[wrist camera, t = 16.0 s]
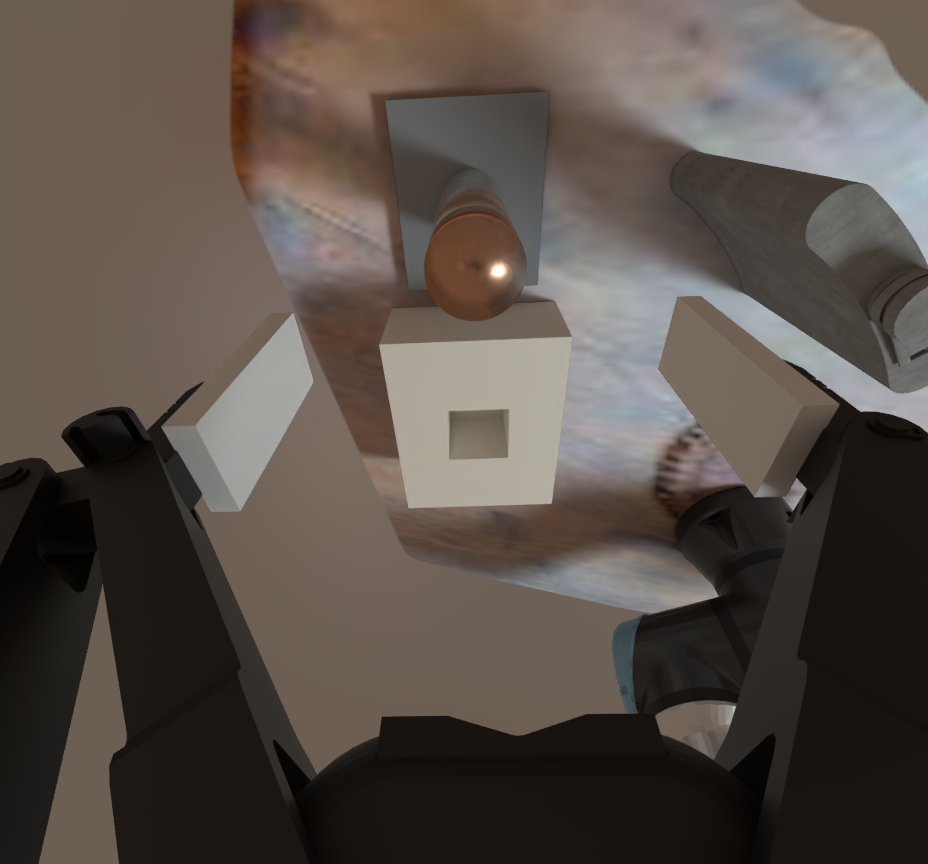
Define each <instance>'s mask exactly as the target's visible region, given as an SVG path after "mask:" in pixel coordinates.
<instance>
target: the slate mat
mask: <svg viewBox="0 0 928 864" xmlns="http://www.w3.org/2000/svg"><path fill="white" fill-rule="evenodd" d="M549 95H550V91H549V92H531V93H512V94H494V95H476V96H457V97H439V98H421V99H403V100H385V103H386V111H387V119H388V127H389V135H390V143H391V151H392V159H393V168H394V176H395V184H396V192H397V200H398V208H399V216H400V224H401V232H402V241H403V249H404V257H405V265H406V273H407V281H408V289H409V291H414V290H428V289H427V286H426V282H425V277H424V260H425V256H426V252H427V248H428V244H429V240H430V238H431V234H432V230H433V226H434V222H435V218H436V214H437V210H438V206H439V202H440V198H441V194H442V191H443V188H444V186H445V184H446V183H447V181H448V180H449V179H450V178H451V177H452V176H453V175H454V174H455V173H457V172H459V171H461V170H464V169H478V170H481V171H483V172H485V173H486V174H488V175H489V176H490V177H491V178H492V179H493V180H494V182H495V183H496V185H497V187H498V189H499V192H500V194H501V197H502V199H503V201H504V204H505V206H506V209H507V211H508V213H509V216H510V218H511V220H512V223H513V225H514V228H515V230H516V232H517V234H518V236H519V239H520V241H521V243H522V246H523V248H524V251H525V254H526V260H527V275H526V280H525V284H524V286H529V285H538V269H539V253H540V237H541V221H542V205H543V190H544V174H545V158H546V142H547V126H548V110H549Z"/></svg>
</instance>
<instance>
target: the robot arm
mask: <svg viewBox="0 0 928 864" xmlns="http://www.w3.org/2000/svg"><path fill="white" fill-rule="evenodd" d="M658 370H659V371H660V372H661V374H662V375H663V376H664V378H665V379H666V380H667V382H668V383H669V384H670V386H671V387H672V388H673V390H674V391H675V392H676V394H677V395H678V396H679V398H680V399H681V400H682V402H683V403H684V404H685V406H686V407H687V408H688V410H689V411H690V412H691V414H692V415H693V416H694V418H695V419H696V420H697V422H698V423H699V424H700V426H701V427H702V428H703V429H704V431H705V432H706V433H707V435H708V436H709V437H710V439H711V440H712V441H713V443H714V444H715V445H716V447H717V448H718V449H719V451H720V452H721V453H722V455H723V456H724V457H725V459H726V460H727V461H728V463H729V464H730V465H731V467H732V468H733V469H734V471H735V472H736V473H737V475H738V476H739V477H740V479H741V480H742V481H743V483H744V484H745V485H746V487H743V488H735V489H730V490H726V491H723V492H720V493H717V494H714V495H712V496H710V497H707V498H705V499H704V500H702V501H700V502H698V503H697V504H695V505H694V506H693V507H691V508H690V509H689V510H688V511H687V512H686V513H685V514H684V515H683V516H682V517H681V518H680V520H679V522H678V523H677V525H676V528H675V540H676V542H677V544H678V546H679V548H680V550H681V552H682V554H683V555H684V557H685V558H686V559H687V560H689V561H690V562H691V563H692V564H693V565H694V566H695V567H696V568H697V569H698V571H699V572H700V573H701V574H702V575H703V576H704V577H705V578H706V579H707V580H708V581H709V582H710V583H711V584H712V585H713V586H714V588H715V590H716V592H717V594H718V596H719V597H717V598H713V599H709V600H705V601H701V602H697V603H693V604H689V605H685V606H681V607H677V608H674V609H670V610H666V611H662V612H658V613H654V614H650V615H648V614H642V615H641V616H639V617H638V618H635V619H632V620H628V621H625V622H622V623H621V624H619V625H618V626H617V628H616V629H615V631H614V633H613V638H612V651H613V662H614V668H615V674H616V679H617V683H618V685H619V687H620V692H621V698H622V701H623V704H624V707H625V710H626V712H627V714H586V715H583V716H580V717H577V718H574V719H571V720H568V721H565V722H562V723H559V724H556V725H553V726H550V727H547V728H544V729H541V730H538V731H535V732H532V733H529V734H526V735H522V736H515V735H510V734H507V733H503V732H500V731H497V730H493V729H490V728H487V727H483V726H480V725H476V724H473V723H470V722H467V721H463V720H460V719H456V718H453V717H450V716H405V717H404V716H401V717H382V720H381V727H380V734H379V737H376V738H373V739H370V740H368V741H366V742H364V743H362V744H360V745H358V746H356V747H353V748H352V749H350V750H349V751H347V752H346V753H344V754H342V755H341V756H339V757H338V758H336V759H335V760H334V761H333V762H332V763H330V764H329V765H328V766H327V767H325V768H324V769H323V770H322V771H321V772H320V773H319V774H318V775H317V774H316V772H315V770H314V768H313V766H312V764H311V762H310V760H309V758H308V757H307V755H306V753H305V751H304V749H303V748H302V746H301V744H300V742H299V740H298V739H297V737H296V734H295V732H294V730H293V728H292V725H291V723H290V721H289V719H288V716H287V714H286V712H285V710H284V707H283V705H282V703H281V700H280V698H279V696H278V694H277V691H276V689H275V687H274V684H273V682H272V680H271V678H270V675H269V673H268V671H267V669H266V666H265V664H264V662H263V660H262V657H261V655H260V653H259V651H258V648H257V646H256V644H255V641H254V639H253V637H252V635H251V632H250V630H249V628H248V626H247V623H246V621H245V619H244V616H243V614H242V612H241V610H240V607H239V605H238V603H237V601H236V598H235V596H234V594H233V592H232V589H231V587H230V585H229V582H228V580H227V578H226V576H225V573H224V571H223V569H222V567H221V564H220V562H219V560H218V558H217V556H216V553H215V551H214V548H213V546H212V544H211V542H210V539H209V537H208V535H207V533H206V530H205V528H204V526H203V524H202V521H201V519H200V517H199V515H198V513H197V512H196V510H195V509H194V506H195V505H196V503H197V502H198V501H199V499H200V498H201V496H202V497H203V499H204V500H205V502H206V503H207V505H208V507H209V509H210V510H211V512H226V511H241V509H242V507H243V505H244V504H245V502H246V500H247V498H248V497H249V495H250V493H251V491H252V490H253V488H254V486H255V484H256V483H257V481H258V479H259V477H260V475H261V474H262V472H263V470H264V468H265V467H266V465H267V463H268V461H269V459H270V458H271V456H272V454H273V453H274V451H275V449H276V447H277V446H278V444H279V442H280V440H281V438H282V437H283V435H284V433H285V431H286V430H287V428H288V426H289V424H290V423H291V421H292V419H293V417H294V416H295V414H296V412H297V410H298V409H299V407H300V405H301V403H302V401H303V400H304V398H305V396H306V394H307V393H308V391H309V389H310V387H311V386H312V384H313V382H314V381H313V377H312V374H311V371H310V368H309V364H308V360H307V357H306V354H305V350H304V347H303V344H302V340H301V337H300V334H299V330H298V327H297V323H296V320H295V316H294V313H272V314H270V315H269V317H267V319H265V321H264V322H263V323H262V324H261V325H260V326H259V327H258V328H257V329H256V330H255V331H254V332H253V333H252V334H251V335H250V336H249V337H248V338H247V339H246V340H245V341H244V342H243V343H242V344H241V345H240V346H239V347H238V348H237V349H236V350H235V351H234V353H232V354H231V355H230V356H229V358H228V359H227V360H226V361H225V362H224V363H223V364H222V365H221V366H220V367H219V368H218V369H217V370H216V371H215V372H214V373H213V374H212V375H211V376H210V377H209V378H208V379H207V380H206V381H205V382H202V383H200V384H198V385H196V386H195V387H193V388H191V389H190V390H188V391H186V392H185V393H184V394H183V395H182V396H181V397H180V398H179V399H178V400H177V401H176V404H173V405H172V406H171V407H170V408H169V409H168V410H167V411H168V412H167V413H164V414H163V415H162V416H161V417H160V418H159V419H158V420H157V421H156V422H155V423H154V424H153V425H152V426H151V427H150V428H149V429H148V430H147V431H146V430H145V428H144V427H143V425H142V423H141V422H140V420H139V419H138V417H137V416H136V414H135V412H134V411H133V410H132V409H131V408H127V407H112V408H107V409H103V410H98V411H95V412H93V413H90V414H88V415H86V416H83V417H81V418H79V419H77V420H76V421H74V422H72V423H71V424H70V425H69V426H68V427H66V428H65V429H64V430H63V433H62V438H63V439H64V441H65V442H66V443H67V445H68V446H69V447H70V448H71V450H72V451H73V452H74V454H75V455H76V456H77V457H78V459H79V460H80V461H81V463H82V464H83V465H84V467H82V468H77V469H73V470H68V471H64V472H59V473H56V472H55V471H54V470H53V469H52V468H51V466H50V465H49V464H48V463H47V462H46V461H45V460H43V459H41V458H28V459H23V460H18V461H15V462H12V463H6V464H3V465H1V466H0V864H38V863H39V859H40V855H41V850H42V846H43V842H44V837H45V833H46V828H47V824H48V820H49V815H50V811H51V807H52V802H53V798H54V794H55V789H56V785H57V780H58V776H59V771H60V767H61V763H62V759H63V754H64V750H65V745H66V741H67V737H68V732H69V728H70V723H71V719H72V715H73V711H74V706H75V702H76V698H77V693H78V689H79V684H80V680H81V675H82V671H83V667H84V663H85V658H86V653H87V649H88V645H89V641H90V636H91V632H92V628H93V623H94V619H95V615H96V610H97V606H98V601H99V597H100V593H101V588H102V584H103V587H104V593H105V599H106V605H107V611H108V618H109V624H110V631H111V637H112V643H113V649H114V656H115V662H116V668H117V675H118V681H119V687H120V694H121V700H122V706H123V712H124V719H125V725H126V731H127V742H126V745H125V747H123V748H122V749H120V750H119V751H117V752H116V753H115V754H113V757H112V760H111V763H110V766H109V773H110V791H111V799H112V808H113V816H114V825H115V832H116V841H117V850H118V857H119V864H928V433H927V432H926V431H924V430H923V429H922V428H921V427H920V426H918V425H916V424H914V423H912V422H910V421H908V420H906V419H903V418H900V417H897V416H894V415H891V414H885V413H880V412H865V411H864V412H860V411H859V410H857V409H856V408H855V407H853V406H852V405H851V404H849V403H848V402H847V401H845V400H844V399H843V398H841V397H840V396H839V395H837V394H836V393H835V392H834V391H832V390H831V389H827V386H826V385H824V384H823V383H822V382H820V381H819V380H816V378H815V377H814V376H812V375H811V374H810V373H808V372H807V371H806V370H804V369H803V368H801V367H799V366H797V365H794V364H792V363H790V362H788V361H785V360H782V359H781V358H780V357H778V356H777V355H776V354H774V353H773V352H772V351H771V350H769V349H768V348H767V347H765V346H764V345H763V344H762V343H760V342H759V341H758V340H756V339H755V338H754V337H753V336H751V335H750V334H749V333H747V332H746V331H745V330H744V329H742V328H741V327H740V326H739V325H737V324H736V323H735V322H733V321H732V320H731V319H730V318H728V317H727V316H726V315H724V314H723V313H722V312H721V311H719V310H718V309H717V308H715V307H714V306H713V305H712V304H710V303H709V302H708V301H706V300H705V299H704V298H703V297H701V296H687V297H677V301H676V304H675V308H674V312H673V316H672V319H671V323H670V327H669V331H668V335H667V338H666V342H665V346H664V350H663V353H662V357H661V361H660V365H659V369H658ZM796 478H797V479H798V480H799V481H800V482H801V483H802V484H803V485H804V486H805V487H806V489H807V490H806V491H805V493H804V495H803V496H802V498H801V499H800V501H799V503H798V504H797V506H796V507H795V509H794V511H793V510H792V509H791V508H790V506H789V505H788V504H787V503H786V501H785V500H784V499H783V498H782V497H784V496H786V495H787V493H788V492H789V490H790V488H791V486H792V485H793V483H794V481H795V480H796Z"/></svg>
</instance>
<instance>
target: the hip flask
mask: <svg viewBox="0 0 928 864" xmlns="http://www.w3.org/2000/svg"><path fill="white" fill-rule="evenodd" d="M670 186H671V189H672V191H673V192H674V193H675V194H676V195H677V196H678V197H680V198H681V199H682V200H683V201H685V202H686V203H687V204H688V205H689V206H690V207H691V208H692V209H693V210H694V211H695V212H696V213H697V214H698V215H699V216H700V217H701V218H702V219H703V220H704V222H705V223H706V224H707V225H708V226H709V228H710V229H711V230H712V231H713V233H714V234H715V236H716V237H717V239H718V240H719V241H720V243H721V244H722V246H723V247H724V249H725V251H726V252H727V254H728V255H729V257H730V259H731V261H732V263H733V265H734V267H735V269H736V271H737V274H738V276H739V279H740V281H741V284H742V288H743V290H744V292H745V294H747V295H748V296H750V297H751V298H753V299H754V300H756V301H757V302H759V303H760V304H762V305H763V306H765V307H766V308H768V309H769V310H771V311H772V312H774V313H775V314H777V315H778V316H780V317H781V318H783V319H784V320H786V321H787V322H789V323H791V324H792V325H794V326H795V327H797V328H798V329H800V330H801V331H803V332H804V333H806V334H807V335H809V336H810V337H812V338H813V339H815V340H816V341H818V342H819V343H821V344H822V345H824V346H825V347H827V348H828V349H830V350H831V351H833V352H834V353H836V354H837V355H839V356H840V357H842V358H843V359H845V360H846V361H848V362H850V363H851V364H853V365H854V366H856V367H857V368H859V369H860V370H862V371H863V372H865V373H866V374H868V375H869V376H871V377H872V378H874V379H875V380H877V381H878V382H880V383H881V384H883V385H884V386H886V387H887V388H889V389H890V390H892V391H894V392H896V393H909V392H914V391H917V390H919V389H922V388H924V387H926V386H927V385H928V265H927V263H926V260H925V258H924V256H923V255H922V253H921V251H920V249H919V247H918V245H917V243H916V242H915V240H914V239H913V237H912V235H911V234H910V232H909V231H908V229H907V228H906V226H905V225H904V224H903V222H902V221H901V219H900V218H899V217H898V215H897V214H896V213H895V212H894V211H893V209H892V208H891V207H890V206H889V205H888V204H887V202H886V201H885V200H884V199H883V198H882V197H881V196H880V195H879V194H878V193H877V192H876V191H875V190H874V189H873V188H872V187H871V186H869V185H867V184H863V183H858V182H853V181H848V180H843V179H837V178H832V177H827V176H822V175H816V174H811V173H806V172H801V171H795V170H790V169H785V168H780V167H774V166H769V165H764V164H759V163H753V162H748V161H743V160H738V159H732V158H727V157H722V156H717V155H711V154H706V153H701V152H693V153H690V154H687V155H686V156H684V157H683V158H681V159H680V160H679V161H678V163H677V164H676V165H675V167H674V168H673V171H672V173H671V177H670Z"/></svg>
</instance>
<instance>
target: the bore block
mask: <svg viewBox="0 0 928 864" xmlns="http://www.w3.org/2000/svg"><path fill="white" fill-rule="evenodd" d="M571 342H572V336H571V333H570V331H569V329H568V327H567V325H566V323H565V321H564V319H563V317H562V314H561V312H560V310H559V308H558V306H557V304H556V302H555V301H554V302H530V303H513V304H512V306H511V307H509V308H508V309H507V310H506V311H505V312H503V313H502V314H500V315H498V316H496V317H494V318H491V319H488V320H483V321H466V320H462V319H458V318H456V317H453V316H451V315H450V314H448V313H446V312H445V311H444V310H442V309H441V308H440V307H439V306H435V307H412V308H392V310H391V312H390V315H389V318H388V321H387V324H386V327H385V329H384V332H383V335H382V338H381V341H380V344H379V347H380V352H381V358H382V363H383V369H384V374H385V380H386V386H387V391H388V397H389V402H390V408H391V413H392V419H393V424H394V430H395V435H396V441H397V447H398V452H399V458H400V463H401V469H402V474H403V480H404V485H405V491H406V497H407V502H408V508H429V507H462V506H495V505H528V504H552V497H553V489H554V481H555V473H556V465H557V456H558V448H559V440H560V432H561V424H562V416H563V407H564V399H565V391H566V383H567V375H568V366H569V358H570V350H571Z"/></svg>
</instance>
